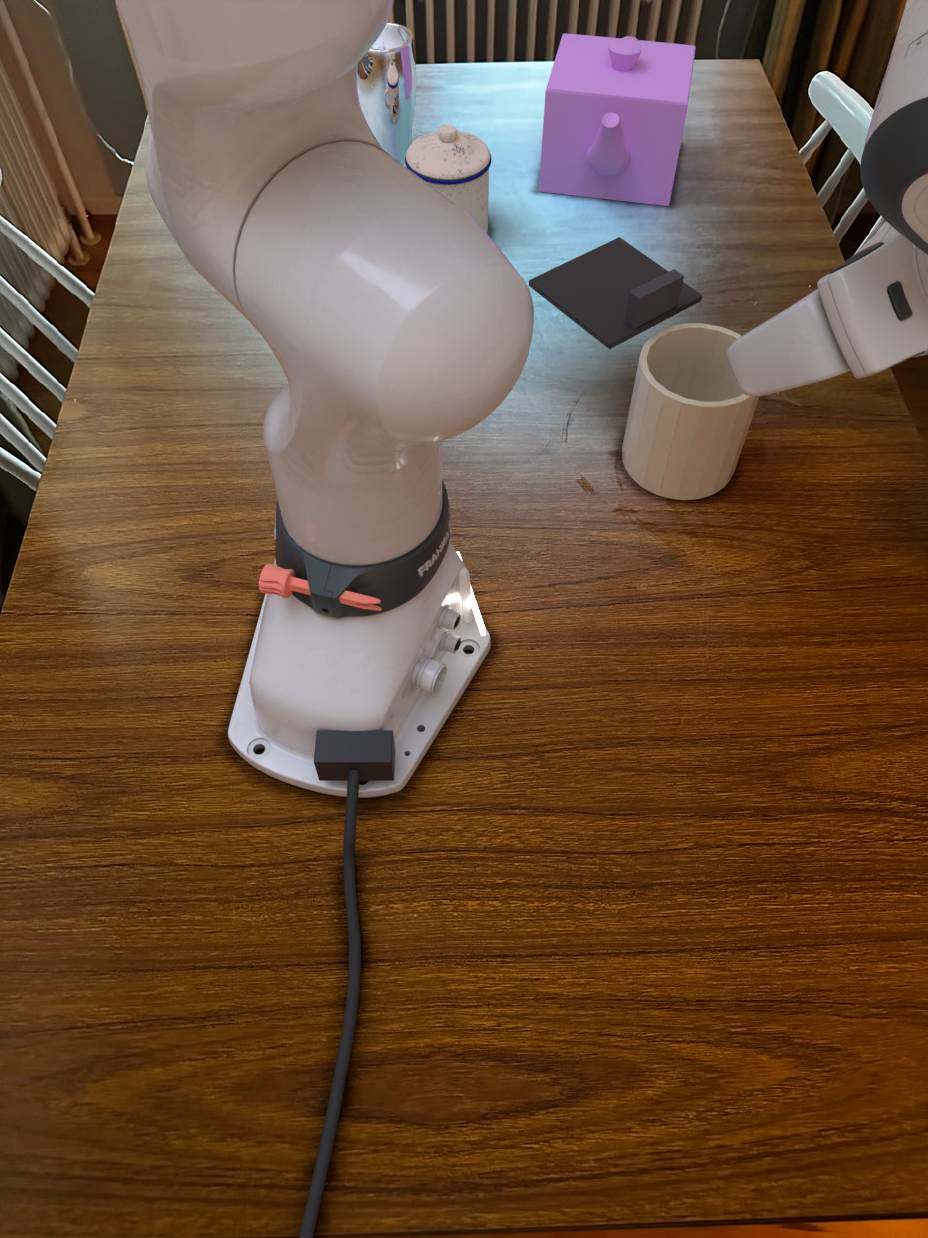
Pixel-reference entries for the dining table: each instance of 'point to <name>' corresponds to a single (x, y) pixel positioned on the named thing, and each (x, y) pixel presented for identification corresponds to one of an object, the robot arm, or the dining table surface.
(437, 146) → the teacup with lid
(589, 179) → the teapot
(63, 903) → the dining table surface
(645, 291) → the slider lid
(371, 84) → the silver metal cup
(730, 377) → the beige cylindrical container
